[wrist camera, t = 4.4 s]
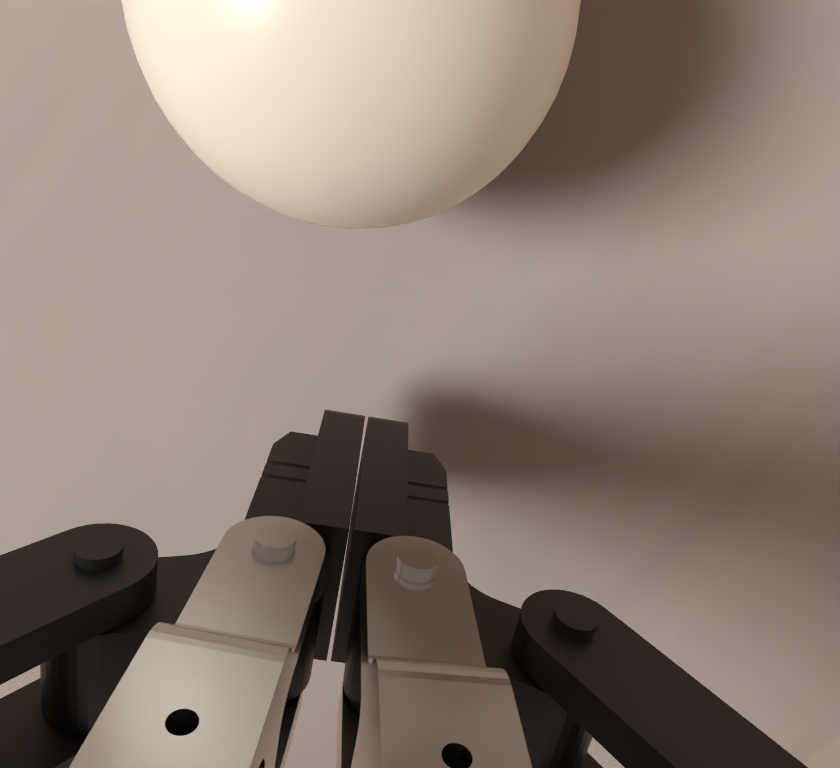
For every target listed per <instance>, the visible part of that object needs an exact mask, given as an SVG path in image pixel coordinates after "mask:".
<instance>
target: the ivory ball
mask: <svg viewBox="0 0 840 768" xmlns="http://www.w3.org/2000/svg"><path fill="white" fill-rule="evenodd" d="M580 4H581V0H122V5H123V11H124V16H125V21H126V26H127V30H128V33H129V36H130V39H131V42H132V46H133V49H134V52H135V55H136V58H137V60H138V63H139V65H140V68H141V70H142V72H143V74H144V76H145V79H146V81H147V83H148V85H149V87H150V90H151V92H152V94H153V96H154V98H155V100H156V101H157V103H158V104H159V106H160V108H161V109H162V111H163V113H164V114H165V116H166V117H167V119H168V121H169V122H170V124H171V125H172V126H173V127H174V129H175V130H176V131H177V132H178V134H179V135H180V136H181V137H182V139H183V140H184V141H185V142H186V144H187V145H188V146H189V147H190V148H191V150H192V151H193V152H194V153H195V154H196V155H197V156H198V157H199V158H200V159H201V160H202V161H203V162H204V163H205V164H206V165H207V166H208V167H209V168H210V169H211V170H212V171H213V172H214V173H215V174H217V175H218V176H219V177H221V178H222V179H223V180H225V181H226V182H227V183H229V184H230V185H231V186H233V187H234V188H235V189H237V190H238V191H240V192H241V193H243V194H245V195H247V196H248V197H250V198H252V199H254V200H256V201H257V202H259V203H261V204H263V205H264V206H266V207H268V208H270V209H272V210H274V211H277V212H279V213H282V214H285V215H287V216H290V217H292V218H295V219H298V220H302V221H306V222H310V223H314V224H318V225H322V226H330V227H339V228H349V229H357V228H383V227H389V226H395V225H401V224H407V223H410V222H414V221H417V220H420V219H424V218H427V217H430V216H433V215H435V214H437V213H440V212H442V211H444V210H446V209H448V208H451V207H453V206H455V205H457V204H459V203H460V202H462V201H463V200H465V199H467V198H468V197H470V196H471V195H473V194H475V193H476V192H478V191H479V190H481V189H482V188H483V187H484V186H486V185H487V184H488V183H489V182H491V181H492V180H493V179H494V178H495V177H497V176H498V175H499V174H500V173H501V172H502V171H503V170H504V169H505V168H506V167H507V166H508V165H509V164H510V163H511V162H512V161H513V160H514V159H515V158H516V157H517V155H518V154H519V153H520V152H521V151H522V150H523V148H524V147H525V146H526V144H527V143H528V141H529V140H530V139H531V137H532V136H533V135H534V133H535V132H536V131H537V129H538V128H539V126H540V125H541V124H542V122H543V120H544V118H545V116H546V114H547V113H548V111H549V109H550V107H551V105H552V104H553V102H554V100H555V98H556V96H557V94H558V91H559V89H560V86H561V84H562V81H563V79H564V76H565V74H566V71H567V69H568V65H569V61H570V57H571V54H572V50H573V46H574V42H575V38H576V32H577V26H578V18H579V11H580Z"/></svg>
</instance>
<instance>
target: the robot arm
mask: <svg viewBox="0 0 840 768" xmlns="http://www.w3.org/2000/svg"><path fill="white" fill-rule="evenodd" d="M364 420H365V416H361V415H355V414H349V413H343V412H336V411H330V410H325V412H324V416H323V419H322V423H321V427H320V431H319V435H318V436H315V435H309V434H302V433H296V432H290V433H288V434H287V435H285V436H284V437H282V438H281V439H280V440H278V441H277V442H275V443H274V444H273V446H272V449H271V452H270V454H269V457H268V460H267V463H266V465H265V467H264V470H263V473H262V477H261V478H260V481H259V483H258V486H257V489H256V491H255V494H254V497H253V499H252V502H251V505H250V507H249V510H248V512H247V515H246V518H245V520H244V521H241V522H239V523H237V524H235V525H234V526H232V527H231V528H230V529H229V530H228V531H227V532H226V533H225V535H224V536H223V538H222V540H221V542H220V543H219V545H218V547H217V549H214V550H211V551H208V552H205V553H200V554H195V555H186V556H173V557H158V550H157V546H156V544H155V543H154V541H153V540H152V539H151V538H150V537H149V536H148V535H147V534H145V533H144V532H142V531H140V530H138V529H135V528H132V527H129V526H125V525H119V524H91V525H85V526H80V527H76V528H73V529H70V530H67V531H64V532H62V533H59V534H56V535H54V536H51V537H48V538H46V539H43V540H40V541H38V542H35V543H32V544H30V545H27V546H24V547H22V548H19V549H16V550H14V551H11V552H8V553H6V554H3V555H0V685H1V684H3V683H5V682H6V681H8V680H10V679H12V678H14V677H16V676H18V675H20V674H22V673H24V672H26V671H28V670H30V669H32V668H34V667H36V666H38V665H40V672H41V678H40V679H38V680H36V681H34V682H32V683H30V684H28V685H26V686H24V687H22V688H20V689H18V690H16V691H15V692H13V693H11V694H9V695H7V696H5V697H3V698H1V699H0V768H284V765H285V761H286V758H287V754H288V750H289V747H290V743H291V739H292V736H293V732H294V729H295V725H296V721H297V718H298V714H299V710H300V707H301V701H302V695H303V690H304V689H305V688H306V686H307V684H308V682H309V679H310V675H311V670H312V664H313V659H318V660H325V661H326V660H327V654H328V649H329V643H330V637H331V631H332V625H333V620H334V614H335V608H336V602H337V596H338V591H339V585H340V579H341V573H342V567H343V562H344V556H345V550H346V544H347V551H346V558H345V565H344V572H343V579H342V586H341V593H340V600H339V608H338V615H337V622H336V629H335V636H334V643H333V650H332V657H331V661H335V662H342V663H345V671H344V679H343V685H342V690H341V695H340V701H339V707H338V727H337V766H336V768H603V767H602V766H601V765H600V764H599V763H598V762H597V761H596V760H595V759H594V758H593V757H591V756H590V755H589V754H588V753H587V750H588V747H589V745H590V742H591V739H592V737H593V738H594V739H595V740H596V741H597V742H599V743H600V744H601V745H602V746H603V747H604V748H605V749H606V750H607V751H608V752H609V753H610V754H611V755H612V756H613V757H614V758H615V759H616V760H617V761H618V762H620V763H621V764H622V765H623V766H624V767H625V768H808V767H806V766H805V765H804V764H802V763H801V762H800V761H799V760H797V759H796V758H795V757H794V756H792V755H791V754H790V753H788V752H787V751H786V750H785V749H783V748H782V747H781V746H780V745H778V744H777V743H776V742H774V741H773V740H772V739H771V738H769V737H768V736H767V735H766V734H764V733H763V732H762V731H761V730H759V729H758V728H757V727H755V726H754V725H753V724H752V723H750V722H749V721H748V720H747V719H745V718H744V717H743V716H741V715H740V714H739V713H738V712H736V711H735V710H734V709H733V708H731V707H730V706H729V705H727V704H726V703H725V702H724V701H722V700H721V699H720V698H719V697H717V696H716V695H715V694H713V693H712V692H711V691H710V690H708V689H707V688H706V687H705V686H703V685H702V684H701V683H700V682H698V681H697V680H696V679H694V678H693V677H692V676H691V675H689V674H688V673H687V672H686V671H684V670H683V669H682V668H680V667H679V666H678V665H677V664H675V663H674V662H673V661H672V660H670V659H669V658H668V657H666V656H665V655H664V654H663V653H661V652H660V651H659V650H658V649H656V648H655V647H654V646H652V645H651V644H650V643H649V642H647V641H646V640H645V639H644V638H642V637H641V636H640V635H639V634H637V633H636V632H635V631H633V630H632V629H631V628H630V627H628V626H627V625H626V624H625V623H623V622H622V621H621V620H619V619H618V618H617V617H616V616H614V615H613V614H612V613H611V612H609V611H608V610H607V609H605V608H604V607H603V606H601V605H600V604H598V603H597V602H595V601H593V600H591V599H589V598H587V597H585V596H582V595H579V594H576V593H573V592H569V591H564V590H544V591H539V592H536V593H534V594H532V595H530V596H529V597H528V598H527V599H526V600H525V601H524V603H523V605H522V608H521V609H520V608H517V607H514V606H512V605H509V604H507V603H504V602H501V601H499V600H496V599H494V598H491V597H489V596H487V595H485V594H483V593H482V592H480V591H478V590H477V589H476V588H474V587H473V586H471V585H470V584H469V583H468V581H467V577H466V572H465V569H464V566H463V564H462V562H461V561H460V559H459V558H458V557H457V556H456V555H455V554H454V553H453V549H452V537H451V525H450V512H449V505H448V502H449V500H448V491H447V476H446V470H445V469H444V467H443V466H442V465H441V463H440V462H439V461H438V460H437V458H436V457H435V456H434V454H430V453H424V452H417V451H411V450H408V423H405V422H399V421H393V420H387V419H381V418H374V417H368V422H367V428H366V433H365V439H364V445H363V451H362V457H361V462H360V468H359V474H358V480H357V486H356V491H355V484H356V477H357V470H358V463H359V456H360V449H361V441H362V434H363V427H364ZM354 491H355V497H354ZM353 498H354V503H353ZM352 505H353V509H352ZM351 512H352V516H351ZM350 519H351V522H350ZM349 526H350V529H349ZM348 533H349V536H348ZM347 538H348V543H347Z"/></svg>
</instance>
